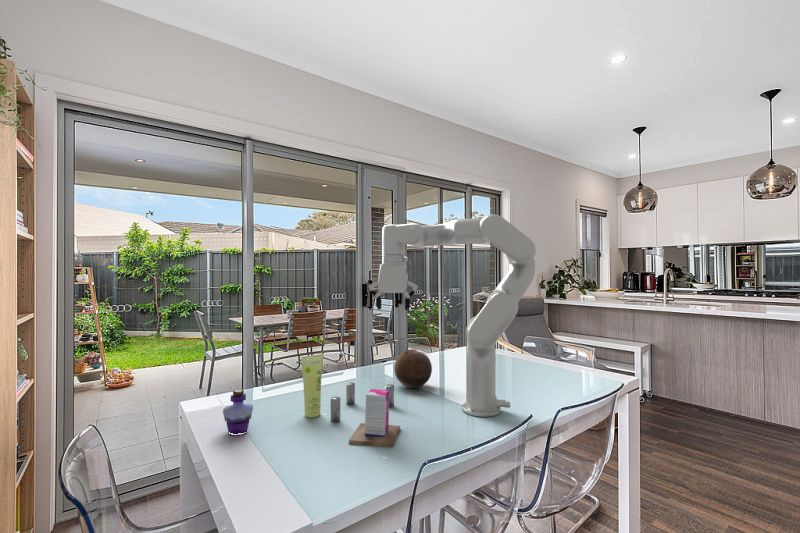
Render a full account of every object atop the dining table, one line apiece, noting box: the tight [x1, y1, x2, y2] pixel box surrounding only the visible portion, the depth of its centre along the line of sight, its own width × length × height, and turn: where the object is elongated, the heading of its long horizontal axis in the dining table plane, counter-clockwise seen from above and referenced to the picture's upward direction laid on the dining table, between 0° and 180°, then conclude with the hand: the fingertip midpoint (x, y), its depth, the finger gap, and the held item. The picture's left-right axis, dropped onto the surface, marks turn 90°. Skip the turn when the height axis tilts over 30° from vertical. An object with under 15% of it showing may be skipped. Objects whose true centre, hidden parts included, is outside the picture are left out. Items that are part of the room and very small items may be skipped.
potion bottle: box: [222, 389, 254, 434], centre depth 115 cm, size 9×9×12 cm
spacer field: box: [330, 381, 395, 423], centre depth 130 cm, size 17×19×7 cm
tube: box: [300, 353, 324, 419], centre depth 128 cm, size 6×5×20 cm
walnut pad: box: [348, 422, 401, 448], centre depth 112 cm, size 12×12×1 cm
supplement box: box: [364, 388, 390, 437], centre depth 112 cm, size 6×6×12 cm
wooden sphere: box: [394, 348, 433, 389], centre depth 159 cm, size 15×15×15 cm
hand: (393, 309), depth 137 cm, fingers open, 9 cm apart
